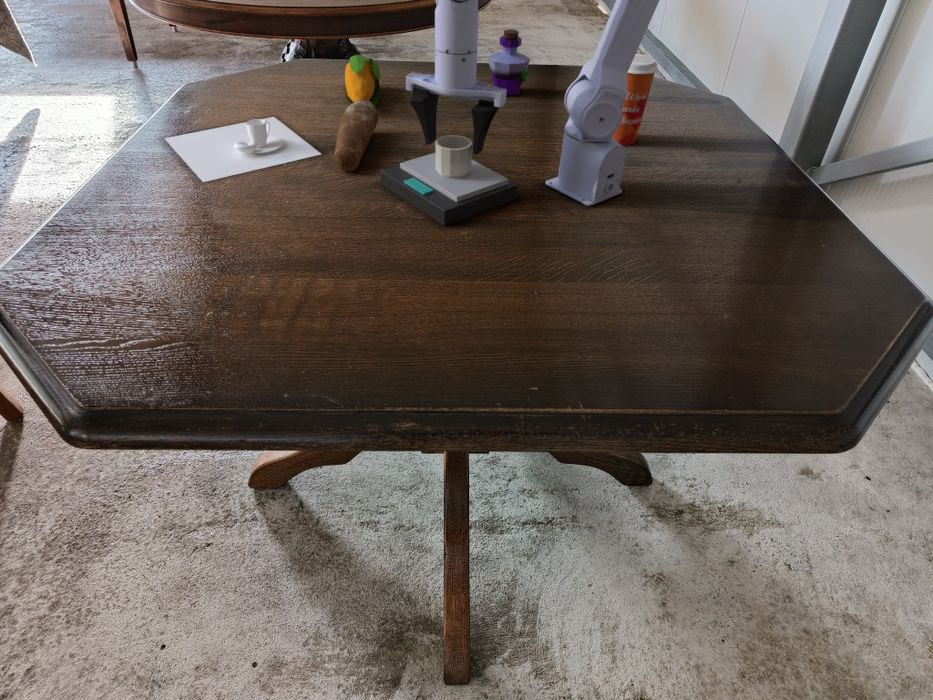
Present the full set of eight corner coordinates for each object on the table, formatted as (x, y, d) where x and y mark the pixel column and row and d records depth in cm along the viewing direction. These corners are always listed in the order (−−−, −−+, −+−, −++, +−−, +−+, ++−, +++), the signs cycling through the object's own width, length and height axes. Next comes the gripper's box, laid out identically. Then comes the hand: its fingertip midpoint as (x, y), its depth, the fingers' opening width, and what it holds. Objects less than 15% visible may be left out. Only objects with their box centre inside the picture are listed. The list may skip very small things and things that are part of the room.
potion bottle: (527, 100, 129) (533, 37, 122) (486, 98, 130) (489, 35, 122) (526, 86, 136) (532, 26, 128) (486, 84, 136) (490, 24, 128)
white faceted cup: (476, 167, 96) (477, 139, 93) (462, 181, 92) (463, 152, 89) (444, 160, 98) (444, 132, 95) (429, 174, 94) (429, 145, 91)
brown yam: (379, 130, 114) (378, 99, 111) (362, 176, 100) (359, 142, 96) (345, 128, 114) (342, 97, 111) (322, 174, 100) (318, 140, 96)
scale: (516, 199, 96) (518, 179, 94) (444, 226, 89) (444, 205, 86) (450, 163, 105) (451, 144, 103) (381, 185, 98) (380, 165, 96)
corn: (377, 45, 128) (379, 76, 113) (382, 84, 133) (384, 118, 118) (341, 48, 128) (338, 80, 113) (347, 86, 133) (345, 122, 118)
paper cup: (597, 144, 113) (611, 62, 104) (600, 129, 119) (614, 50, 110) (641, 150, 112) (659, 67, 103) (642, 134, 117) (660, 55, 108)
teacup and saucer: (241, 160, 102) (236, 136, 100) (224, 144, 107) (219, 120, 105) (291, 149, 107) (288, 125, 104) (273, 133, 111) (269, 110, 109)
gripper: (517, 49, 85) (509, 146, 93) (420, 34, 89) (421, 128, 97) (498, 62, 80) (492, 164, 88) (397, 46, 84) (400, 145, 92)
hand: (454, 147), depth 93 cm, fingers open, 7 cm apart
